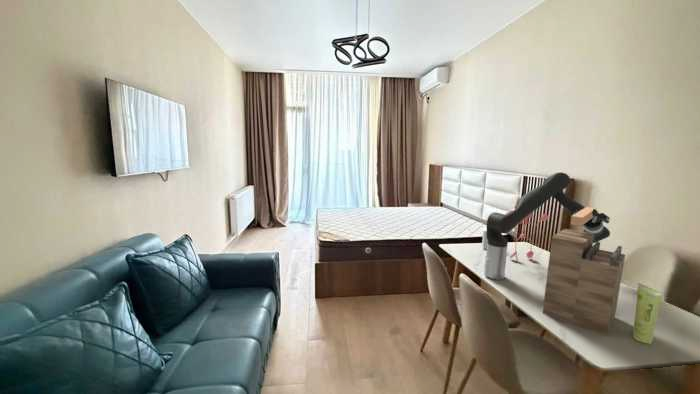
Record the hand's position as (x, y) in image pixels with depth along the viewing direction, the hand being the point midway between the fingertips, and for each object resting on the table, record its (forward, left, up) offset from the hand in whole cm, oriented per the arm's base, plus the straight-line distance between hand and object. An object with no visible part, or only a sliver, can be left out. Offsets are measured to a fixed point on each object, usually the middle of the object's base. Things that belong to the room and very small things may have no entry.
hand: (587, 210), depth 131 cm
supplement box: (-31, +55, -39) cm, 74 cm away
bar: (-3, -5, -3) cm, 7 cm away
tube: (+9, -31, -39) cm, 51 cm away
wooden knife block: (-6, -20, -39) cm, 45 cm away
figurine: (-16, +41, -39) cm, 59 cm away
